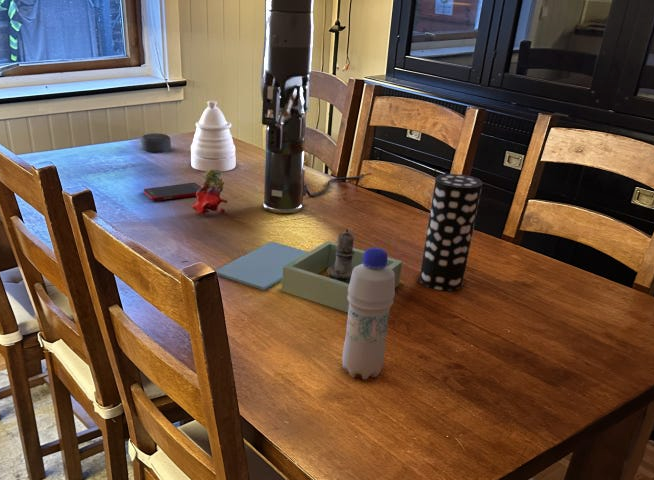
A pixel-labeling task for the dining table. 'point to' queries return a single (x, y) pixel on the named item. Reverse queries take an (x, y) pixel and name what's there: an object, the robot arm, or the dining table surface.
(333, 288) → the green rectangular frame
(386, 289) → the bottle
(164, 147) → the smart speaker
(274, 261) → the drying mat
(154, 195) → the cell phone
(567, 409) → the dining table surface
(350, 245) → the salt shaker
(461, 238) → the spotted tube
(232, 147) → the honey pot
